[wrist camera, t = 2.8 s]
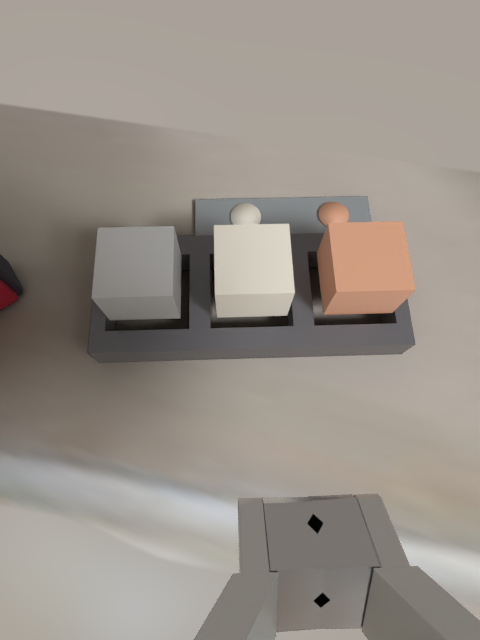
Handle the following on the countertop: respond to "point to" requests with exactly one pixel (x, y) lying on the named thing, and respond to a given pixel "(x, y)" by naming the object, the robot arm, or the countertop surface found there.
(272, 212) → the card
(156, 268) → the grey key
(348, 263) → the terracotta key
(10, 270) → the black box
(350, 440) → the countertop surface
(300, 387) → the countertop surface
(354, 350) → the keyguard frame
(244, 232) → the cream key
